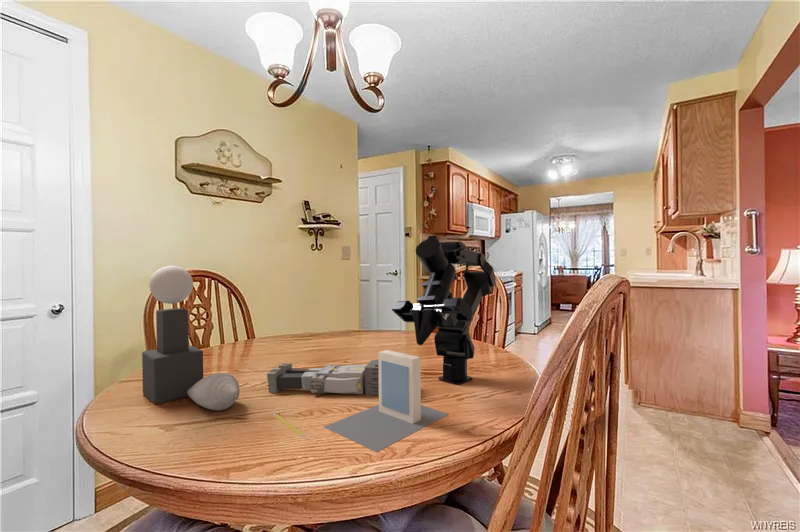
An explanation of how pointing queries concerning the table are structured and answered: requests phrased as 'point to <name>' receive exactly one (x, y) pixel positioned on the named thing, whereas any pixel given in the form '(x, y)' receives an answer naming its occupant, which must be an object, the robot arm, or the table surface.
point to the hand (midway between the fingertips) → (419, 344)
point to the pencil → (289, 425)
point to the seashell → (215, 391)
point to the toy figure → (327, 379)
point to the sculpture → (171, 341)
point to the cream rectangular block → (400, 385)
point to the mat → (381, 427)
